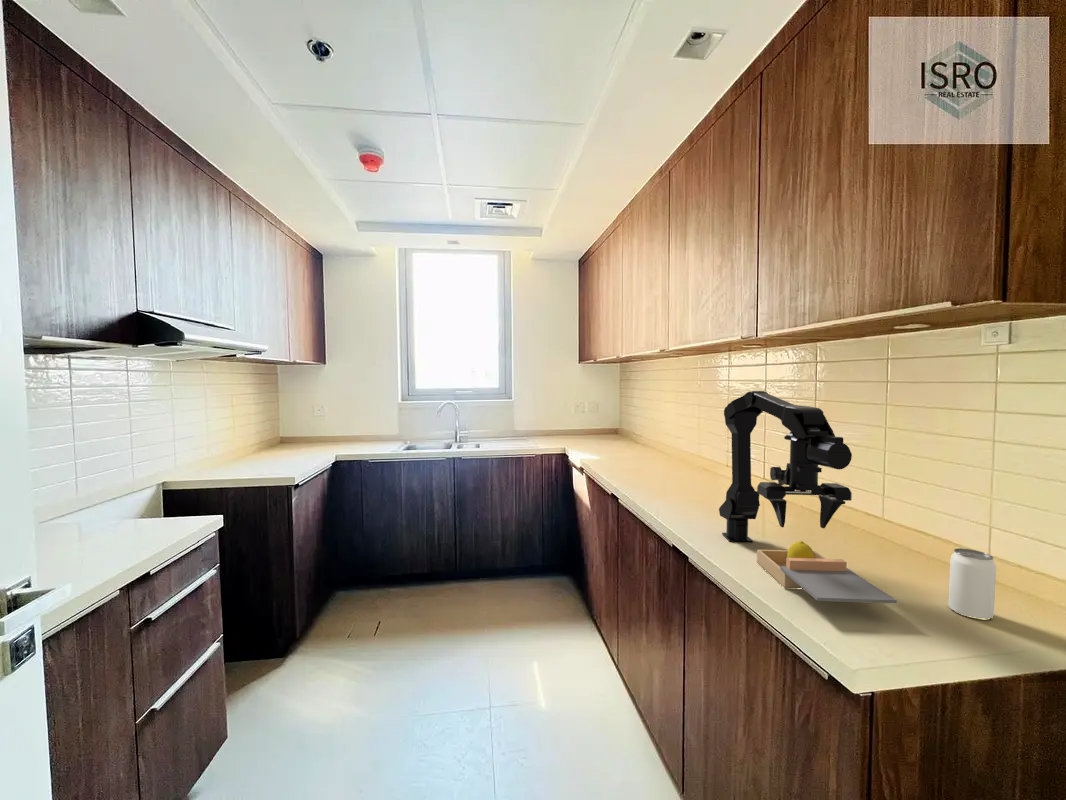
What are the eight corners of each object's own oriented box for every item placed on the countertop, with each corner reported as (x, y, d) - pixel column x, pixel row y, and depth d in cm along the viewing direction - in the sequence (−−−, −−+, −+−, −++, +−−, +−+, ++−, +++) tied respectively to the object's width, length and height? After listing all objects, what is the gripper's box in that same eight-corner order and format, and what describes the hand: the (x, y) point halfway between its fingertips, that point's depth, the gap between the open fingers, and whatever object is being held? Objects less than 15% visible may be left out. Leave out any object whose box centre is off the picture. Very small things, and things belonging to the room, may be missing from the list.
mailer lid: (780, 568, 101) (780, 557, 100) (847, 570, 100) (848, 559, 100) (817, 600, 86) (817, 587, 86) (896, 603, 85) (897, 589, 85)
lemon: (795, 567, 109) (796, 535, 109) (819, 576, 105) (820, 542, 104) (781, 572, 107) (782, 539, 106) (805, 581, 102) (806, 547, 102)
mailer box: (756, 563, 113) (757, 549, 113) (814, 564, 112) (814, 551, 112) (784, 588, 99) (784, 573, 99) (850, 591, 98) (850, 575, 98)
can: (1000, 624, 85) (1004, 562, 84) (956, 616, 88) (959, 556, 87) (984, 609, 91) (986, 550, 90) (942, 602, 94) (945, 545, 93)
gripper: (825, 456, 112) (823, 518, 113) (748, 455, 113) (746, 516, 114) (854, 464, 101) (852, 532, 101) (768, 463, 102) (767, 530, 103)
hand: (802, 527), depth 105 cm, fingers open, 9 cm apart
